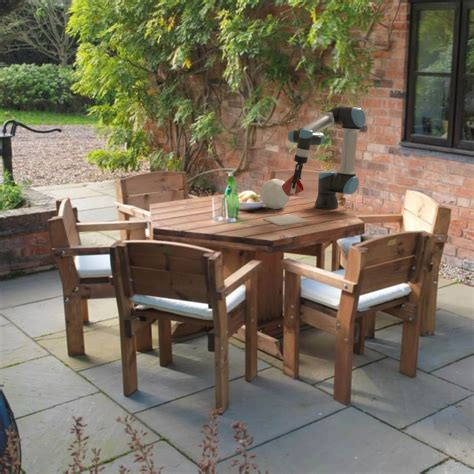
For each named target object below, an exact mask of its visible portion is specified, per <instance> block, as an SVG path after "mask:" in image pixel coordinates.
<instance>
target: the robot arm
mask: <svg viewBox="0 0 474 474" xmlns="http://www.w3.org/2000/svg"><path fill="white" fill-rule="evenodd" d="M366 118H367V117H366V114H365V111H364V110H363V109H362V108H361V107H355V106H353V107H352V106H340V105H339V106H336V107H334V108H330V109H328V110H326V111H324V112H323V113H322V115H321V116H319V117H317V118H316V119H315V120H312V121H311V122H309V123H307V124H306V125H304V126H302V127H301V128H299V129H292V130H289V131H288V133H287V139H288V141H289V142H290V143H294V144H297V145H296V148H295V155H294V159H293V161H294V162H296V164H295V169H294V172H293V173H294V174H293V175H294V176H293V175H292V176H293V180H292V181H291V182H292V186H291V191H290V193H291V194H294V195H296V194H295V190H296V185H297V180H298V179H299V180H300V181H301V180H302V171H303V167H304V164H307V163H308V157H309V154H310V149H311V146H321V145H323V144H324V143H325V140H326V139H325V134H324V133H323V132H321V131H322V130H324V129H326V128H327V127H328V128H329V127H333V126H341V129H342V131H343V139H342V147H341V158H340V165H339V167H340V169H339V170H338V171H337V170H328V171H321V172H320V173H319V174H318V178H317V179H318V183H317V186H318V188H317V195H316V199H315V202H314V207H315V208H316V209H322V210H335V209H338V208H339V202H338V198H337V194H344V195H353V194H355V193H356V191H357V190H358V188H359V185H360V181H359V177H357V173H356V172H355V163H356V162H355V161H356V152H357V143H358V133H359V132H360V131H361V129H362V128H363V127H364V126H365V124H366V120H367V119H366ZM294 180H295V181H294Z"/></svg>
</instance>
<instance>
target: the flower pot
mask: <svg viewBox="0 0 474 474" xmlns="http://www.w3.org/2000/svg"><path fill="white" fill-rule="evenodd" d="M293 176H294V174H293V175H291V177H289V178H288V179H287V180H286V181H284V182H285V183H284V184H283V185H282V189H283V191H284V193H285V194H286V195H287V196H290V197H291V196H294V195H297V194H298V193H301V192H302V193H303V192H304V190H305V189H304V188H305V187H304V185H303V183H302V181H301V179H300V180H299V179H298V180H297V185H296V190H295V194H291V193H290V191H291V186H292V182H291V181H292V180H293ZM294 181H295V180H294Z"/></svg>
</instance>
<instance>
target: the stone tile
mask: <svg viewBox="0 0 474 474" xmlns="http://www.w3.org/2000/svg"><path fill="white" fill-rule="evenodd" d="M262 219H263V221H267V222H269V223H271V224H274V225H277V226H278V227H284V226H289V225H298V224H304V223H309V220H307V219H304V218H301V217H299V216H295V215H293V214H287V215H280V216H279V215H278V216H270V217H264V218H262Z"/></svg>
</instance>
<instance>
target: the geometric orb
mask: <svg viewBox="0 0 474 474" xmlns="http://www.w3.org/2000/svg"><path fill="white" fill-rule="evenodd" d="M285 182H286V181H284V180H281V179H278V178H273V179H269V180H266V182H264V184H262V186H261V190H260V192H259V196H260V198H261V202H262V201H263V202H262V204H263V205H265V207H267V208H268V209H269V208H270V209H272V210H278V209H282V208H285V206H286V205H287V204H288V203H289V201H290V197H291V196H287V195H286V194H285V193H284V191H283V189H282V185H283V184H284V183H285Z"/></svg>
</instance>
